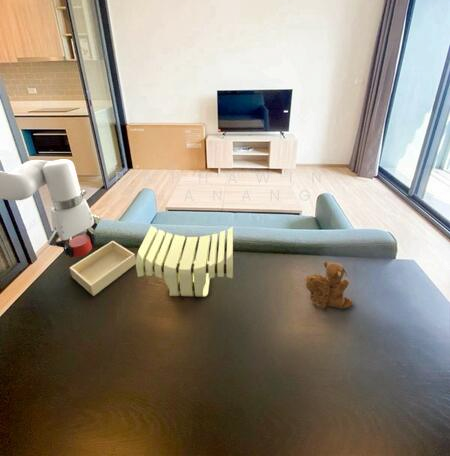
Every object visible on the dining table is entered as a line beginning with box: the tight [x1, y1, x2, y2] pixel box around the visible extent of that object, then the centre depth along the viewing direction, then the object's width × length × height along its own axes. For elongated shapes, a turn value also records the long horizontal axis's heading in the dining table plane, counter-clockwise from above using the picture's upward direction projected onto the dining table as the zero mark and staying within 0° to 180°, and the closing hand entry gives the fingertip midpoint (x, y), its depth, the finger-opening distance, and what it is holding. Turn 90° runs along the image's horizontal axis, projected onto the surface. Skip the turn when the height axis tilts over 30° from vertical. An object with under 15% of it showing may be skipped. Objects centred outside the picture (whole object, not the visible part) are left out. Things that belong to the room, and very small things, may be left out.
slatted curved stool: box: [135, 225, 234, 297], centre depth 84 cm, size 30×16×18 cm, turn 88°
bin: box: [69, 240, 136, 297], centre depth 92 cm, size 14×17×5 cm
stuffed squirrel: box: [304, 260, 353, 310], centre depth 78 cm, size 10×14×13 cm
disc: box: [69, 234, 93, 258], centre depth 79 cm, size 6×6×4 cm
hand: (81, 248), depth 79 cm, fingers closed on disc, 6 cm apart
